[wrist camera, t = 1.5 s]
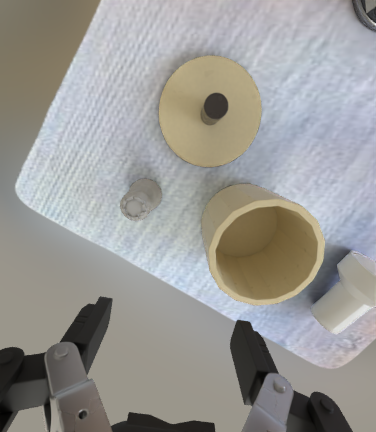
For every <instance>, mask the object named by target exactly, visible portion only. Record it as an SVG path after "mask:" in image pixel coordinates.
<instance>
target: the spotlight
mask: <svg viewBox="0 0 376 432" xmlns="http://www.w3.org/2000/svg"><path fill="white" fill-rule="evenodd" d="M337 268H338V273H339V278H340V281H338V282H337V283H336V284H335V285H334V286H333V287H332V288H331V289H330V290H329V291H328V292H327V293H325V294H324V295H323V296H322V297H321V298H320V299H319V300H318V301H317V302H316V303H315V304H314V305H312V307H311V312H312V314H313V316H314V317H315V319H316V320H317V321H318V322H319V323H320V324H321V325H322V326H323V327H324V328H325V329H327V330H328V331H329V332H332V333H334V334H339V333H340V332H342V331H343V330H344V329H346V328H347V327H348V326H349V325H351V324H352V323H353V322H354V321H356V320H357V319H358V318H360V317H361V316H362V315H363V314H365V313H366V312H367V311H368V310H370V309H371V308H372V307H373V308H376V262H375V261H374V260H372V259H370V258H369V257H367V256H365V255H363V254H361V253H359V252H357V251H353V250H352V251H351V252H350V253H349V254H348V255H347V256H346V257H345V258H343V259H342V260H341V261H340V262H339V263H338V264H337Z"/></svg>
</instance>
